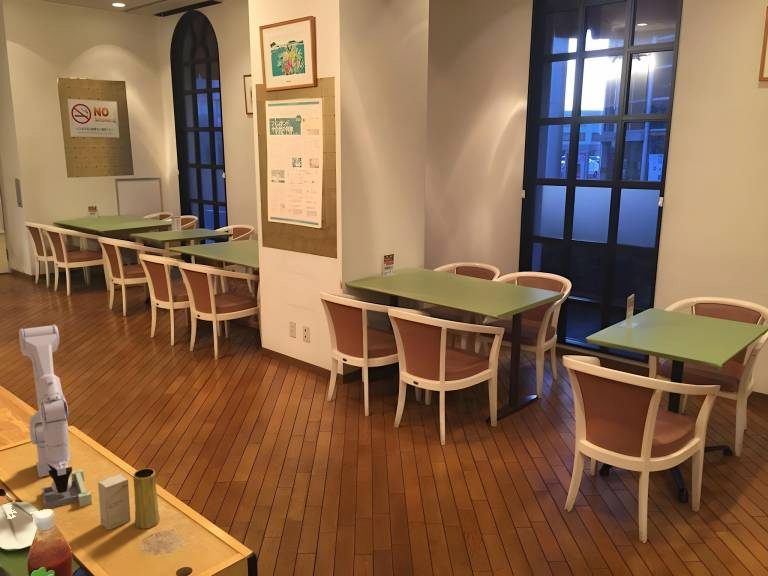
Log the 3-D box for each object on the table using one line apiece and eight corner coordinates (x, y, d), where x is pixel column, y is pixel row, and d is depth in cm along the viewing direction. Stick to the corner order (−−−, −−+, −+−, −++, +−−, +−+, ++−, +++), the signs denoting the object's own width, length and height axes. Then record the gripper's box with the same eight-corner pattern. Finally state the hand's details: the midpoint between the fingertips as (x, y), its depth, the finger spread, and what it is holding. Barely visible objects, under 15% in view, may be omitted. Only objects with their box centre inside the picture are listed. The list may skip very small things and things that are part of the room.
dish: (42, 493, 178) (41, 488, 178) (77, 485, 183) (77, 480, 183) (45, 509, 171) (45, 503, 170) (82, 500, 176) (81, 494, 175)
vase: (151, 530, 163) (148, 480, 160) (130, 527, 164) (126, 477, 161) (164, 517, 169) (161, 468, 166) (143, 514, 170) (140, 465, 167)
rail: (72, 480, 185) (71, 471, 184) (83, 478, 187) (82, 468, 186) (79, 506, 172) (79, 497, 172) (91, 503, 174) (91, 494, 173)
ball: (51, 491, 177) (49, 474, 176) (71, 486, 180) (69, 470, 179) (53, 499, 173) (51, 482, 172) (73, 494, 176) (71, 477, 175)
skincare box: (108, 531, 162) (104, 488, 160) (100, 523, 165) (96, 481, 162) (131, 520, 167) (128, 479, 164) (123, 513, 170) (120, 472, 167)
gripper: (37, 434, 177) (42, 478, 180) (42, 456, 165) (47, 503, 168) (65, 429, 181) (69, 472, 184) (72, 450, 169) (76, 496, 172)
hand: (61, 487), depth 176 cm, fingers closed on ball, 5 cm apart
